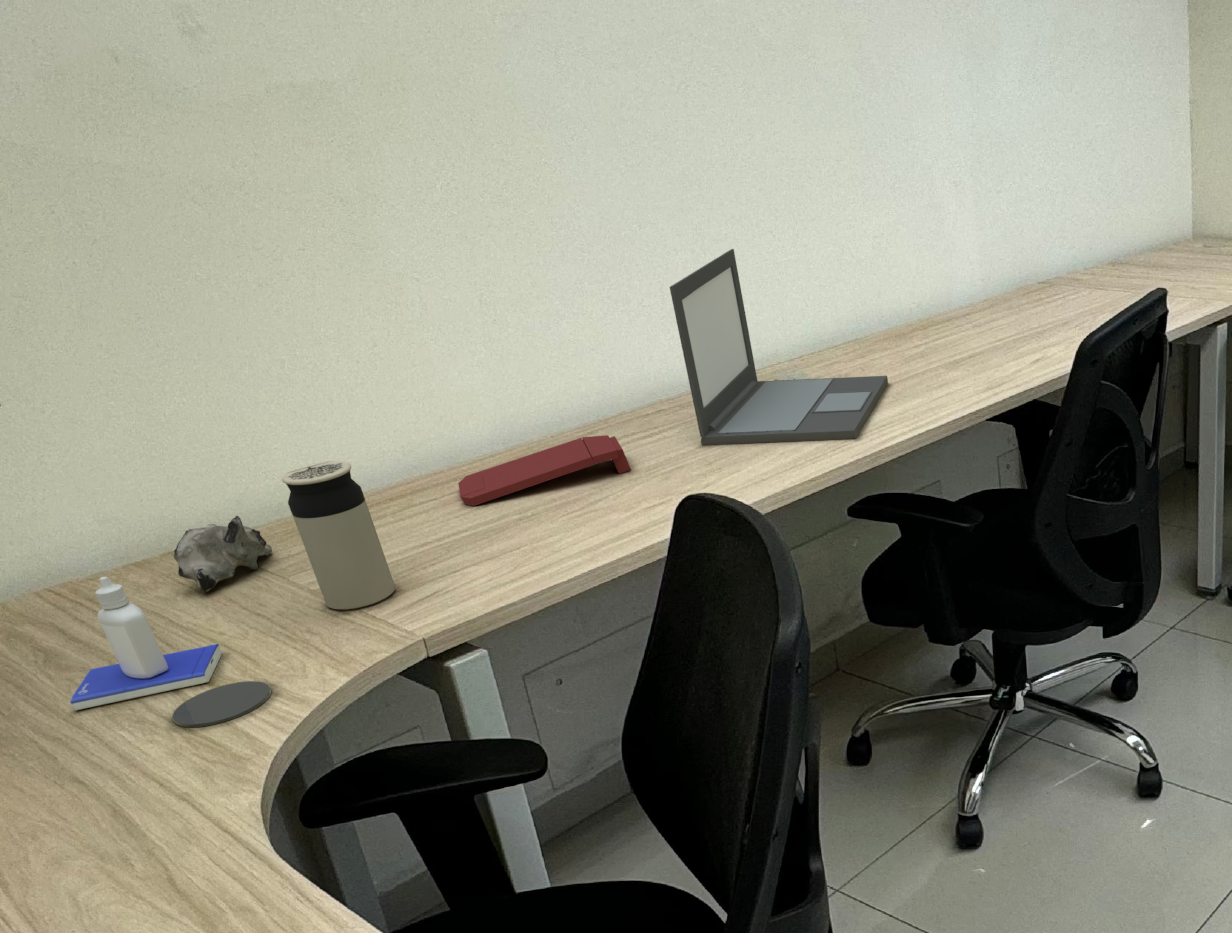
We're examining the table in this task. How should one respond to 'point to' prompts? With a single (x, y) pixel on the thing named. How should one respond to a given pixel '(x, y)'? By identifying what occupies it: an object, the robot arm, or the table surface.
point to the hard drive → (117, 686)
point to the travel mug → (338, 535)
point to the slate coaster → (221, 704)
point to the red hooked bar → (541, 468)
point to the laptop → (728, 375)
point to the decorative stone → (218, 552)
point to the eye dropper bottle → (129, 633)
